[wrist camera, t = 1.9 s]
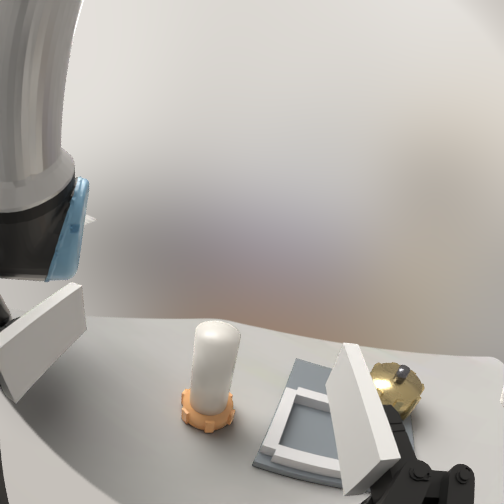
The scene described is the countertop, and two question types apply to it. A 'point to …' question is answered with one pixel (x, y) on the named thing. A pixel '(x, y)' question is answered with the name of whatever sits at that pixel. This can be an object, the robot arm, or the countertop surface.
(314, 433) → the carrier plate
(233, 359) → the white cylinder orange base
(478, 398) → the countertop surface
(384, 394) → the sun gear
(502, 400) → the muffin
